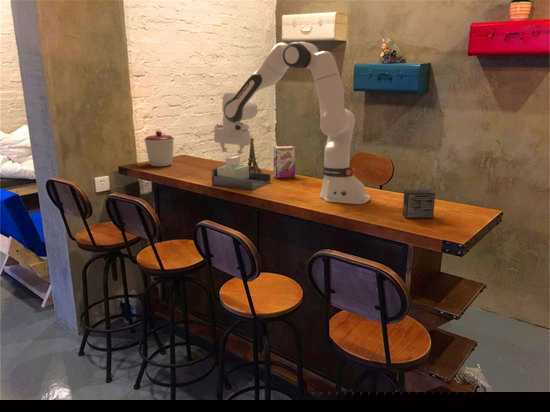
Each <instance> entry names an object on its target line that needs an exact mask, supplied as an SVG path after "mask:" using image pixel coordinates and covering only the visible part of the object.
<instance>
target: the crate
mask: <svg viewBox="0 0 550 412" xmlns="http://www.w3.org/2000/svg"><path fill="white" fill-rule="evenodd" d="M224 163H225V164H224V165H226V166H224V165H222V166H223V167H220V166H219V167H220V168H217V167H216V168H217V176H221V177H229V178H237V179H245V180H246V179H249V165H248V164H247V165H246V164H241V155H234V156H231V157H227V158H225V160H224Z"/></svg>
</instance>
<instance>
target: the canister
mask: <svg viewBox="0 0 550 412" xmlns="http://www.w3.org/2000/svg"><path fill="white" fill-rule="evenodd" d="M174 140H175V137H173V136H172V135H169V134H163V132H162V131H161V130H157V131H156V132H155V135H148V136H146V137H145V138H143V141H144V143H145V147H146V153H147V158H148V162H149V164H150V165H151V166H152V167H155V166H156V168H159V167H161V168H162V167H163V166H164V167H168V166H169V167H170V166H171V165H172V164H173V158H174Z"/></svg>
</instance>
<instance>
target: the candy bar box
mask: <svg viewBox="0 0 550 412" xmlns="http://www.w3.org/2000/svg"><path fill="white" fill-rule="evenodd" d="M296 151H297V150H296V146H292V145H288V146H273V163H272V164H273V171H272V172H273V174H272V175H273V178H274V179H283V178H295V176H296Z"/></svg>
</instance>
